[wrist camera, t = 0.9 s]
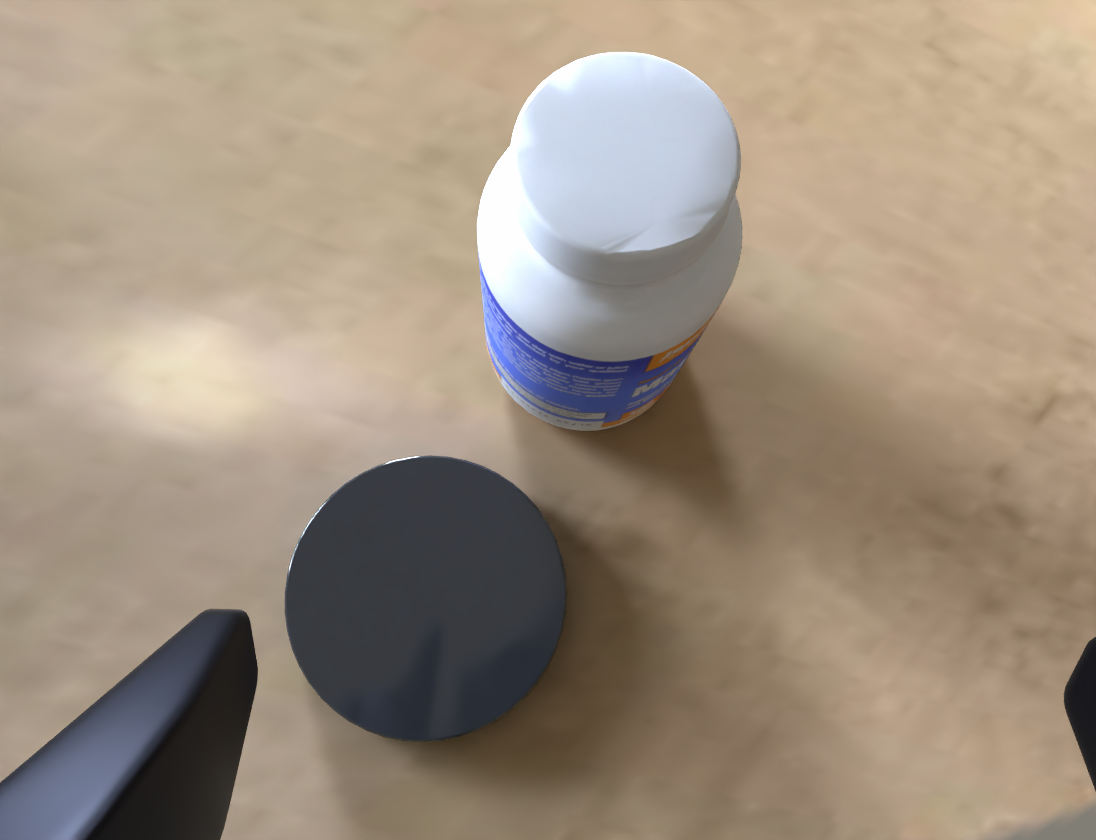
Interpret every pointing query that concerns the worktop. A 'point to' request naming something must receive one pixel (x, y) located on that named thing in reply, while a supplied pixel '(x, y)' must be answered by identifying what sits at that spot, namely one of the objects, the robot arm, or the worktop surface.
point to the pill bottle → (607, 237)
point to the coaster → (425, 598)
